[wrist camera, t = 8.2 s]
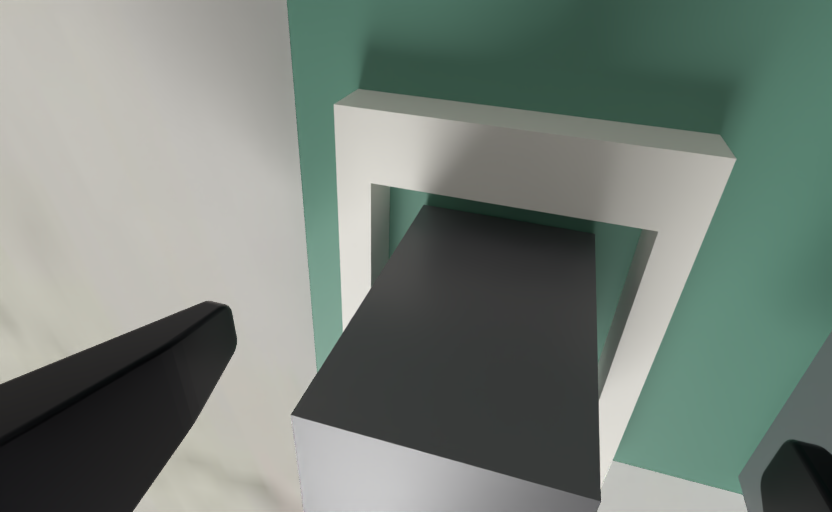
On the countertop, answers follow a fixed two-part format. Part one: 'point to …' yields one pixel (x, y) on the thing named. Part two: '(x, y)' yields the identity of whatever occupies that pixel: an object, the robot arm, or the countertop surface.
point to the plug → (462, 377)
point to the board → (601, 191)
